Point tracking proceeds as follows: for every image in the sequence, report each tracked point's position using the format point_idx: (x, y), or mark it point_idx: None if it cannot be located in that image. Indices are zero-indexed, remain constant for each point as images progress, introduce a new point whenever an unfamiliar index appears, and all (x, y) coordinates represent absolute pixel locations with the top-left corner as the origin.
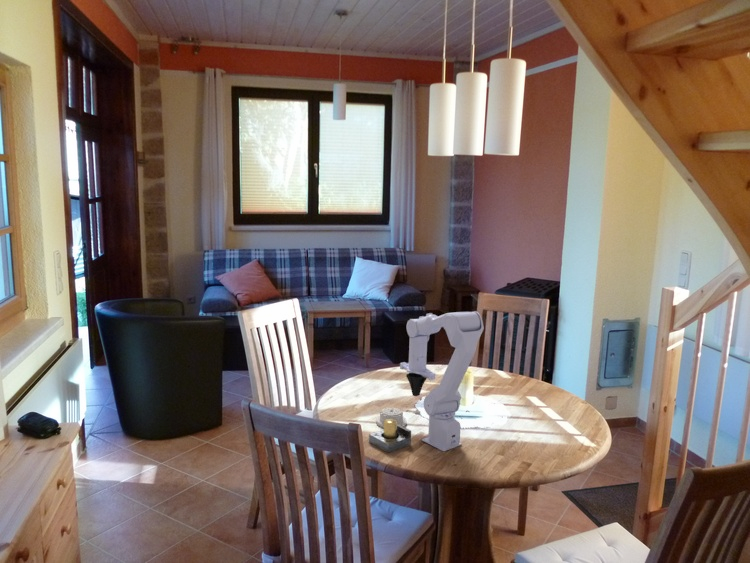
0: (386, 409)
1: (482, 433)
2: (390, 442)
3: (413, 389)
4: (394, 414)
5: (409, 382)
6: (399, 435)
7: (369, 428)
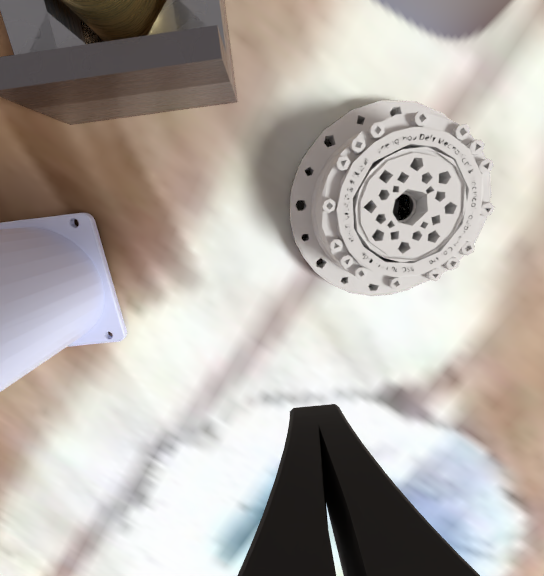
0: (459, 190)
1: (79, 482)
2: None
3: (318, 466)
4: (347, 189)
5: (468, 573)
6: (79, 43)
7: (390, 21)
